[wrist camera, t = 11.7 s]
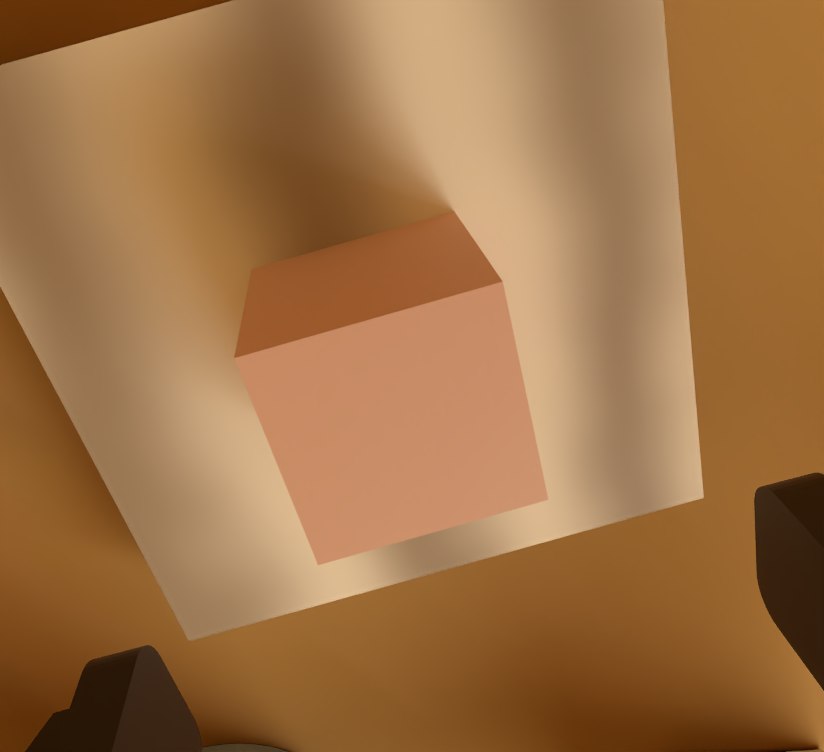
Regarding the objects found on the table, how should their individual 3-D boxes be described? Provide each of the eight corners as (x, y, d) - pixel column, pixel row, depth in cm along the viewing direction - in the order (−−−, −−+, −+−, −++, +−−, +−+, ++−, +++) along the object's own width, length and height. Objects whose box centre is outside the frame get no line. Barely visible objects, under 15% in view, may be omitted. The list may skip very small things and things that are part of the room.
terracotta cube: (454, 211, 18) (502, 281, 14) (495, 389, 20) (548, 499, 16) (251, 269, 18) (234, 358, 14) (315, 441, 20) (318, 565, 16)
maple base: (603, -101, 18) (653, -117, 16) (662, 445, 26) (703, 497, 23) (-43, 79, 18) (-103, 93, 16) (200, 573, 26) (188, 641, 23)
